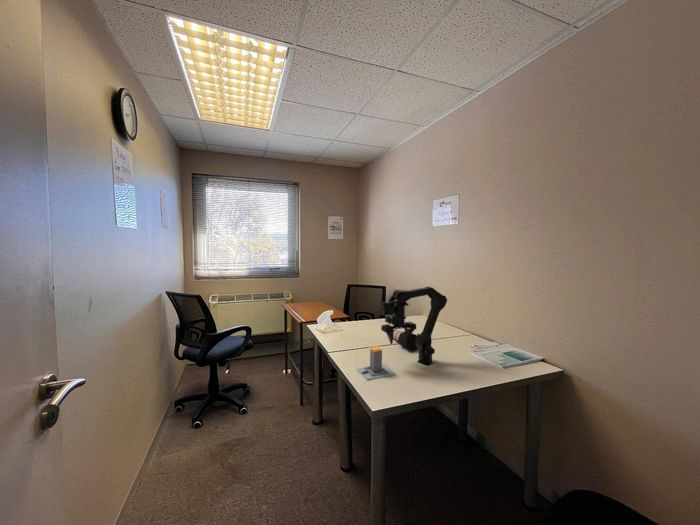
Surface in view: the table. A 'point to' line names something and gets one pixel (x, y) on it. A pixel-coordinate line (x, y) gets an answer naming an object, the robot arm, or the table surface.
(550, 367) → the table surface
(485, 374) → the table surface
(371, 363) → the brick
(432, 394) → the table surface
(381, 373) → the charging dock
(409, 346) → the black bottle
